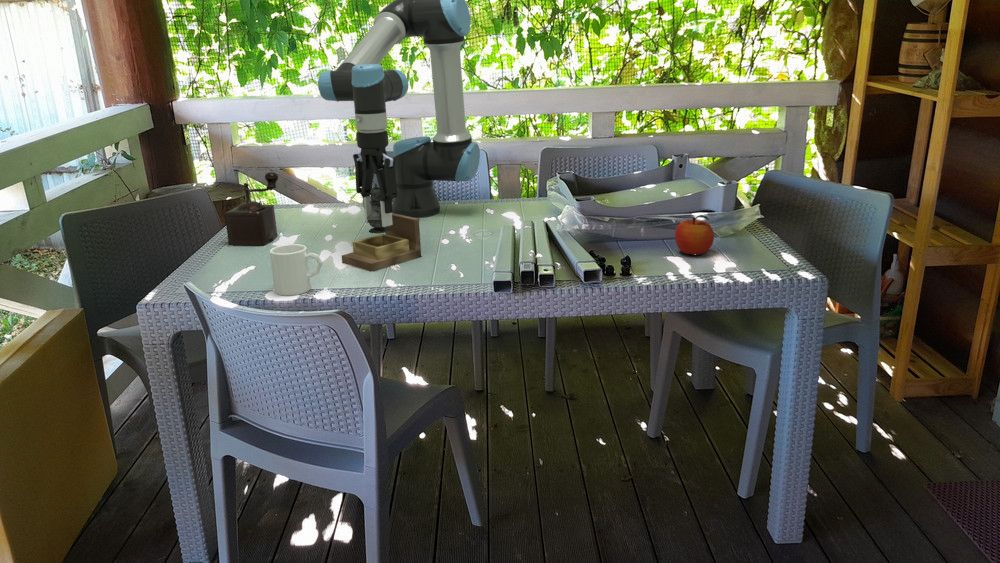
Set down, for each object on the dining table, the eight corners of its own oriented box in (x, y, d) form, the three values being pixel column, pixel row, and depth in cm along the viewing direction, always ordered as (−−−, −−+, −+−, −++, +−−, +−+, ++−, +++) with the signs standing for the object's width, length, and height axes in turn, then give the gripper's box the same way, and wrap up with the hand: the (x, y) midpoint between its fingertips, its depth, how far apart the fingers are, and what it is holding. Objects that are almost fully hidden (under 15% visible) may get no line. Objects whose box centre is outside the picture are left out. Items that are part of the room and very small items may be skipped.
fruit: (683, 246, 210) (684, 208, 207) (718, 251, 205) (720, 212, 201) (667, 255, 203) (669, 216, 200) (704, 260, 197) (706, 220, 194)
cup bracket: (391, 248, 216) (388, 212, 212) (421, 256, 208) (418, 218, 205) (342, 262, 205) (338, 224, 201) (372, 271, 197) (368, 231, 194)
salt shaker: (365, 229, 205) (361, 183, 201) (387, 226, 207) (384, 180, 204) (370, 235, 200) (367, 187, 196) (393, 232, 202) (390, 184, 198)
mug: (318, 297, 180) (313, 254, 177) (268, 295, 182) (263, 253, 179) (332, 285, 187) (328, 244, 184) (284, 283, 190) (279, 243, 187)
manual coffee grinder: (265, 246, 222) (257, 181, 216) (227, 246, 223) (218, 181, 218) (287, 231, 236) (280, 170, 231) (251, 231, 238) (244, 170, 232)
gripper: (335, 129, 199) (343, 221, 207) (384, 135, 187) (391, 232, 194) (360, 126, 205) (367, 215, 212) (409, 131, 192) (415, 226, 200)
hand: (378, 223), depth 203 cm, fingers closed on salt shaker, 6 cm apart
